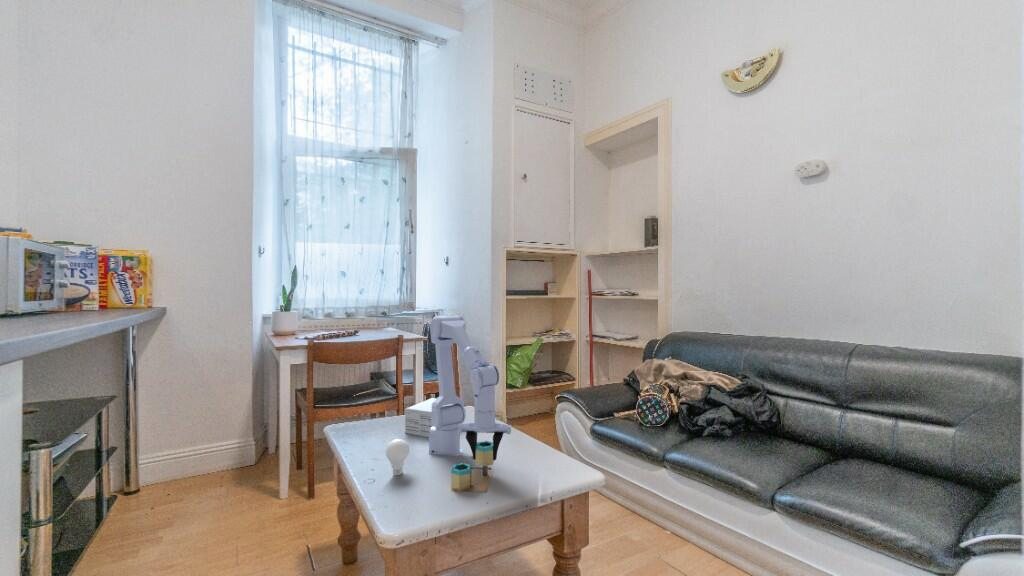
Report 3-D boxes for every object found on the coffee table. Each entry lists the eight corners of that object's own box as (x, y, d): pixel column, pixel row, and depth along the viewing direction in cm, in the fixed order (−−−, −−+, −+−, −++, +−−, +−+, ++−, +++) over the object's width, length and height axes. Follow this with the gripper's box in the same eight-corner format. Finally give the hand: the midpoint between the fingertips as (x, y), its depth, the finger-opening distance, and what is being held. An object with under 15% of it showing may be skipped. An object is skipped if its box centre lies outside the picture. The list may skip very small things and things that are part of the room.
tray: (466, 473, 125) (466, 467, 125) (471, 462, 133) (471, 456, 133) (490, 474, 125) (490, 467, 124) (494, 462, 132) (494, 456, 132)
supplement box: (434, 438, 154) (434, 412, 154) (404, 433, 159) (404, 408, 159) (459, 424, 169) (459, 400, 169) (431, 420, 175) (431, 397, 175)
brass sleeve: (474, 466, 118) (474, 447, 118) (478, 458, 124) (478, 440, 124) (492, 466, 118) (492, 448, 118) (495, 458, 123) (495, 440, 123)
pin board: (451, 496, 111) (451, 475, 111) (462, 474, 124) (462, 455, 124) (486, 498, 110) (486, 476, 110) (493, 475, 123) (493, 456, 123)
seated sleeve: (449, 490, 111) (449, 471, 111) (454, 481, 117) (454, 462, 117) (468, 491, 111) (468, 472, 111) (472, 481, 116) (472, 463, 116)
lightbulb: (397, 485, 118) (396, 445, 118) (380, 480, 121) (380, 440, 121) (414, 476, 123) (413, 437, 123) (398, 471, 126) (397, 433, 126)
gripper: (455, 413, 117) (456, 463, 117) (509, 414, 116) (509, 465, 116) (461, 405, 124) (461, 453, 125) (512, 407, 123) (512, 455, 123)
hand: (485, 458), depth 121 cm, fingers closed on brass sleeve, 5 cm apart
